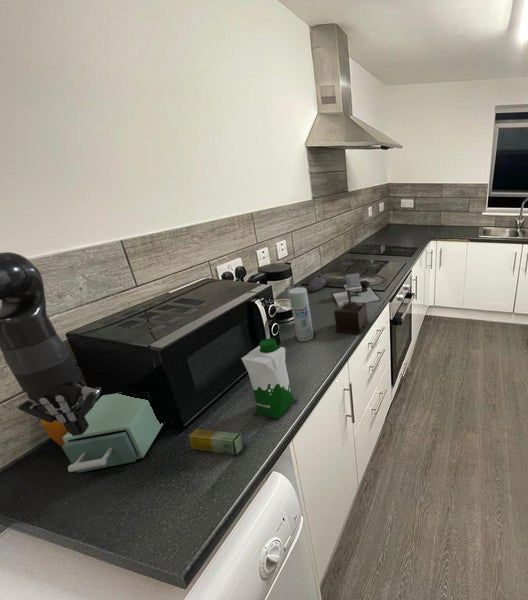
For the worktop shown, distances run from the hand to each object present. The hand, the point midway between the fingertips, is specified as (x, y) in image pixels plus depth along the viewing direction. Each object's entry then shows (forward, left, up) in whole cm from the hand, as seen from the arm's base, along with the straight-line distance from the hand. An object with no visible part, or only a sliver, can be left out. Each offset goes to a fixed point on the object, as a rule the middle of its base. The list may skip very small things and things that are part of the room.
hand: (80, 432), depth 66 cm
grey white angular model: (+66, +90, -13) cm, 112 cm away
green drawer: (0, +6, -12) cm, 13 cm away
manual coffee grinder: (+62, +58, -13) cm, 86 cm away
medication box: (+23, +1, -13) cm, 26 cm away
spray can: (+42, +53, -13) cm, 69 cm away
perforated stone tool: (+47, +108, -13) cm, 118 cm away
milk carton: (+35, +13, -13) cm, 39 cm away
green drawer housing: (0, +11, -13) cm, 17 cm away
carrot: (-12, +11, -13) cm, 21 cm away
